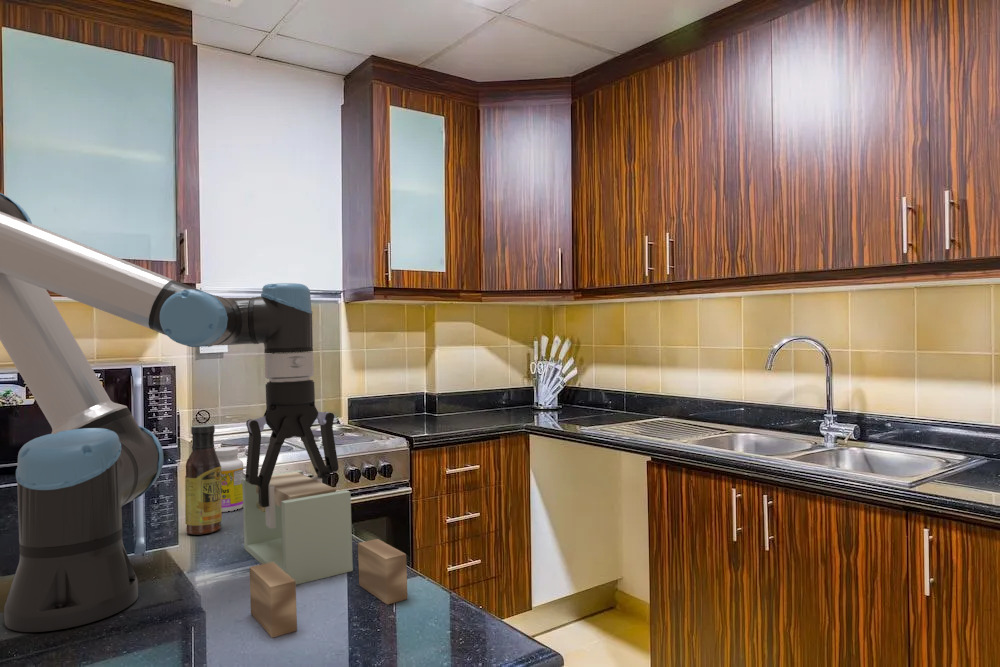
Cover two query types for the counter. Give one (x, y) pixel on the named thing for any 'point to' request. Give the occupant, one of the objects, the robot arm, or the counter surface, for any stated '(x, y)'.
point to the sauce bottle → (203, 484)
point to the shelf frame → (301, 534)
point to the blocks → (278, 590)
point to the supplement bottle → (230, 478)
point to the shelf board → (296, 487)
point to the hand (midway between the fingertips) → (295, 521)
